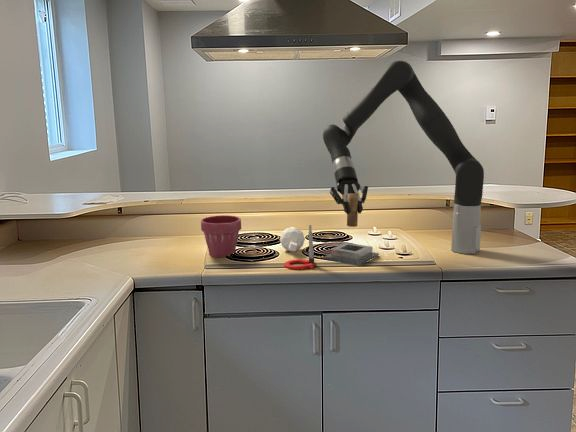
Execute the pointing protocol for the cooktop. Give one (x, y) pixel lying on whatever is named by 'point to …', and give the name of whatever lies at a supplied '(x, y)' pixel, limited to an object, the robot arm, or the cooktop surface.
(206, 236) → the plant pot
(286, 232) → the perfume bottle
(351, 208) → the dowel pin
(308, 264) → the tow hook
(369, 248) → the plate
